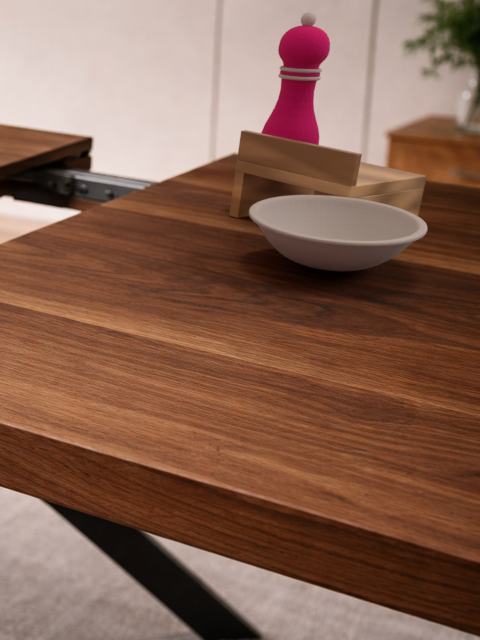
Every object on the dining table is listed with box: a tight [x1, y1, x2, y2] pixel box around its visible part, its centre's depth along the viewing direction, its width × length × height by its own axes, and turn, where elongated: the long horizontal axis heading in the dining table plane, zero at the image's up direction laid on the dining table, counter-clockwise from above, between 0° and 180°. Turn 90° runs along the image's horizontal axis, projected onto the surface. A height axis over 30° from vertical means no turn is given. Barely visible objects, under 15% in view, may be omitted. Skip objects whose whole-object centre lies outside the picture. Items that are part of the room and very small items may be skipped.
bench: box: [229, 129, 428, 219], centre depth 98 cm, size 12×14×9 cm
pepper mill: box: [260, 11, 331, 145], centre depth 119 cm, size 7×7×20 cm
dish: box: [248, 194, 428, 272], centre depth 83 cm, size 18×14×5 cm
